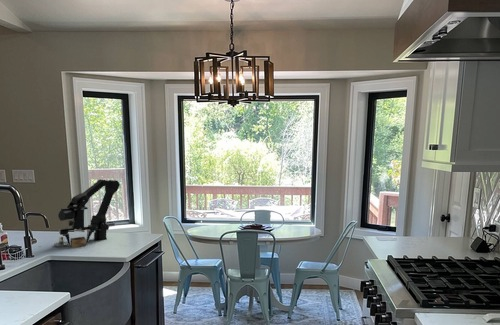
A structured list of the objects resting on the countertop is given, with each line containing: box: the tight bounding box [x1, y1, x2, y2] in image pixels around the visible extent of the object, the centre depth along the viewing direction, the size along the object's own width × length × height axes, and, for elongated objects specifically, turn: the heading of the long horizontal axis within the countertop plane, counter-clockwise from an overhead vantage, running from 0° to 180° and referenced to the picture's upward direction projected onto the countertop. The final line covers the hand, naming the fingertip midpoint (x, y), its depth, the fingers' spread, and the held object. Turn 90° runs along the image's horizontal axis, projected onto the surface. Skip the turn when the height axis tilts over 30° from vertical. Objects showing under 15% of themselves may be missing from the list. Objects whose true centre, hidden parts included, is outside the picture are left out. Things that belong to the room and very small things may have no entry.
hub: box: [53, 235, 69, 248], centre depth 173 cm, size 7×7×5 cm
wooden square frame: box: [69, 236, 87, 249], centre depth 174 cm, size 7×7×4 cm
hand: (78, 243), depth 174 cm, fingers open, 9 cm apart
